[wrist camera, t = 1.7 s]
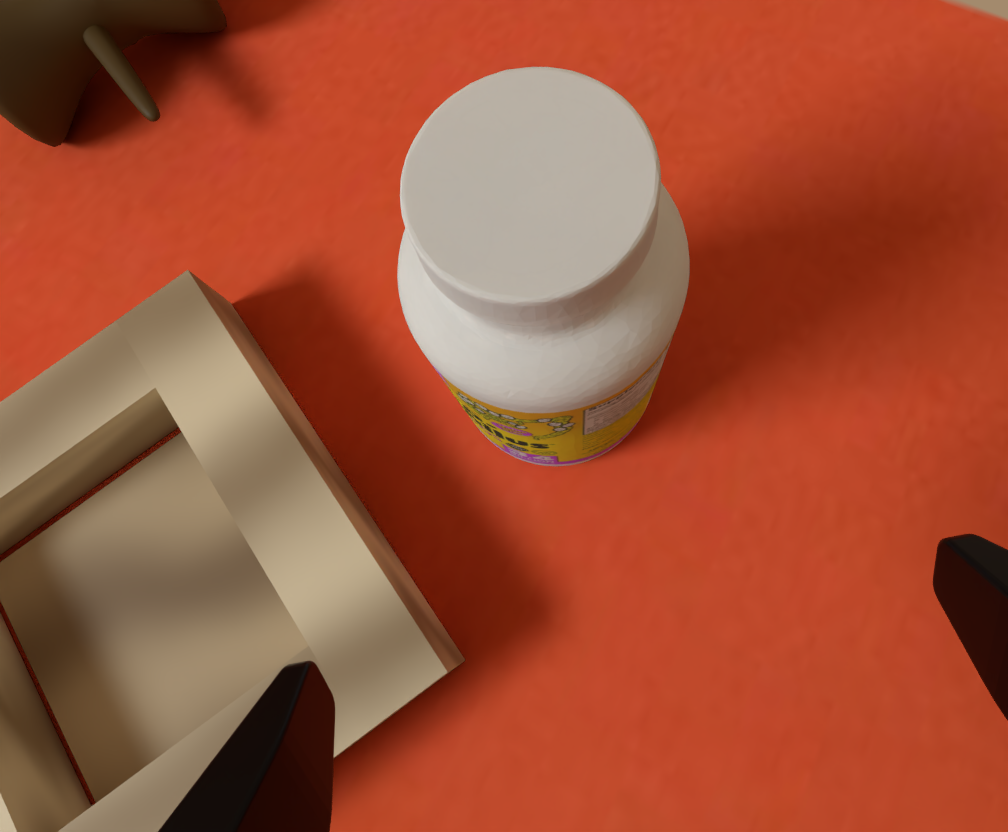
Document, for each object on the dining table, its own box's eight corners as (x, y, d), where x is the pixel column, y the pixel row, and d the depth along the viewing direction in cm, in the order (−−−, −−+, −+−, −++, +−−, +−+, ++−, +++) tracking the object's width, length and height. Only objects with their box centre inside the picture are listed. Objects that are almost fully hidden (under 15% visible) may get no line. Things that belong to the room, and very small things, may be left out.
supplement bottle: (427, 370, 25) (273, 169, 13) (566, 256, 26) (544, -47, 13) (547, 511, 24) (501, 437, 11) (693, 386, 24) (804, 180, 12)
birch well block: (465, 660, 23) (447, 672, 20) (60, 963, 22) (-20, 1021, 19) (231, 303, 27) (187, 269, 24) (-118, 551, 26) (-206, 547, 23)
